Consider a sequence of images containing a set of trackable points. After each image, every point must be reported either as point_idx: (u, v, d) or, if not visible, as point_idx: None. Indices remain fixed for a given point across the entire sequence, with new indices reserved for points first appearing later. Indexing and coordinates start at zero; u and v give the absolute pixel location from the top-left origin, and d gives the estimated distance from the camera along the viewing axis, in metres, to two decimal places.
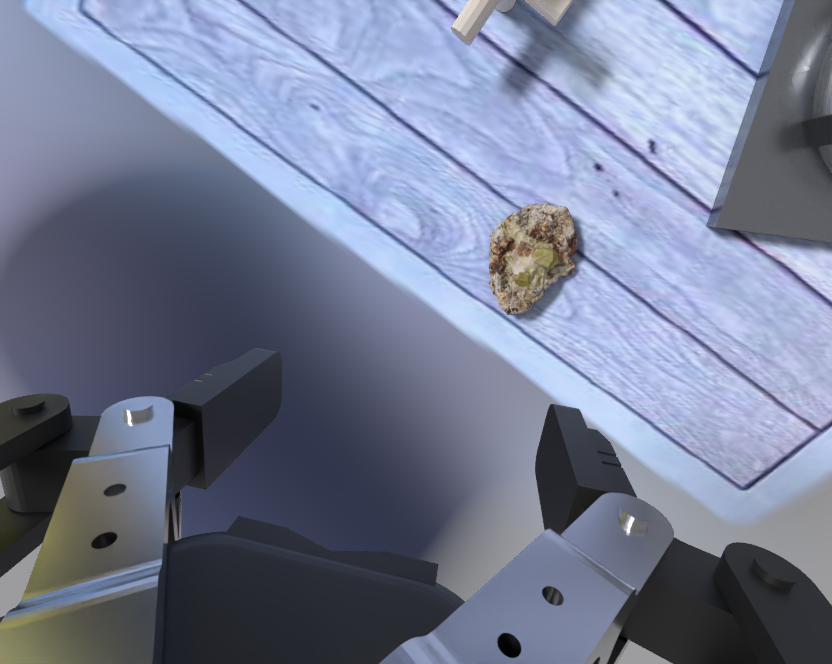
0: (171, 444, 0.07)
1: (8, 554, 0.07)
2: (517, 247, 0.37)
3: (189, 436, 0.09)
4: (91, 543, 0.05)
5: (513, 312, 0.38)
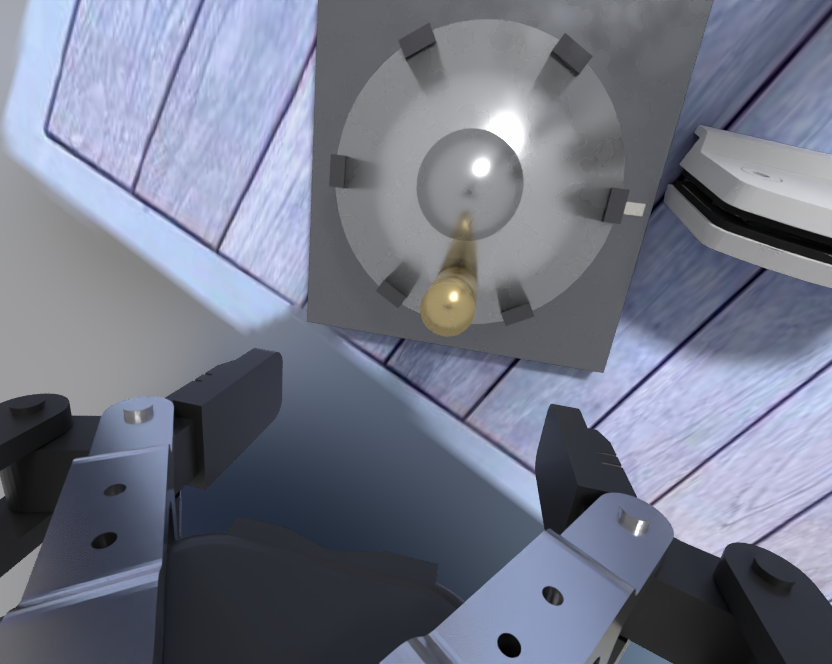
0: (171, 444, 0.07)
1: (8, 554, 0.07)
2: None
3: (189, 436, 0.09)
4: (91, 543, 0.05)
5: None
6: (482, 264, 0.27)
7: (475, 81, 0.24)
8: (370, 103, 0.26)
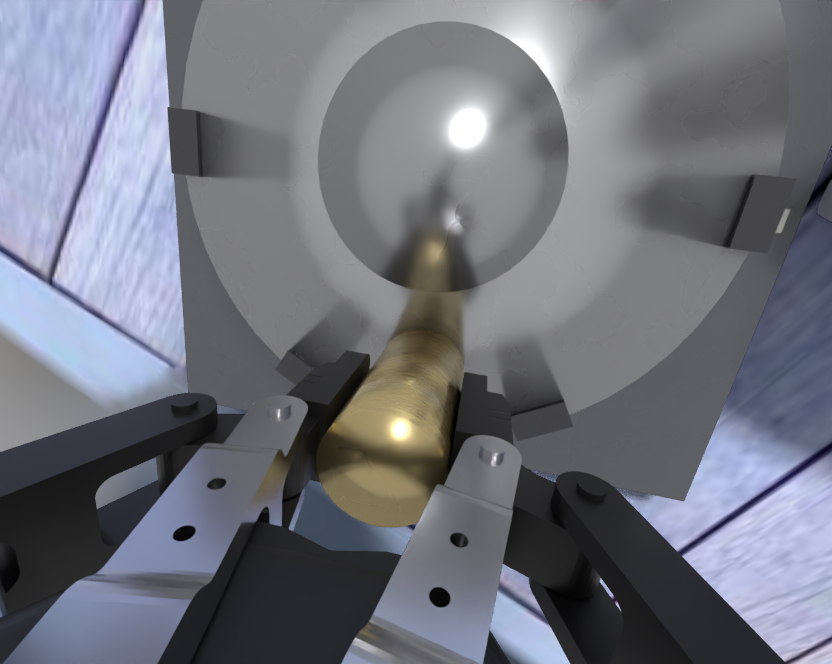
0: (289, 448, 0.08)
1: None
2: None
3: (316, 433, 0.10)
4: (173, 532, 0.05)
5: None
6: (471, 326, 0.14)
7: None
8: None
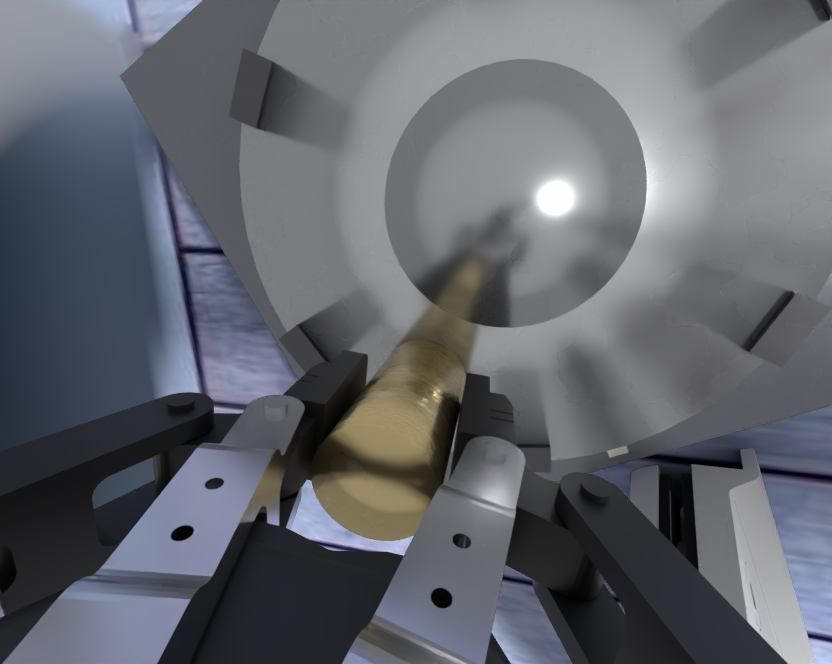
0: (286, 448, 0.08)
1: None
2: None
3: (313, 432, 0.10)
4: (171, 532, 0.05)
5: None
6: (484, 353, 0.14)
7: None
8: None
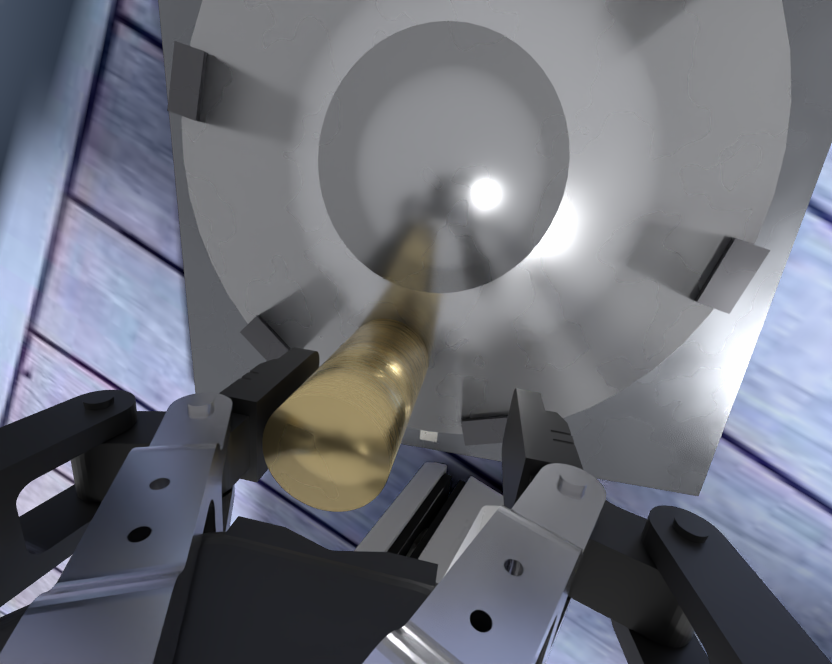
0: (223, 442, 0.08)
1: (68, 542, 0.08)
2: None
3: (244, 431, 0.09)
4: (127, 535, 0.05)
5: None
6: (443, 327, 0.14)
7: None
8: None
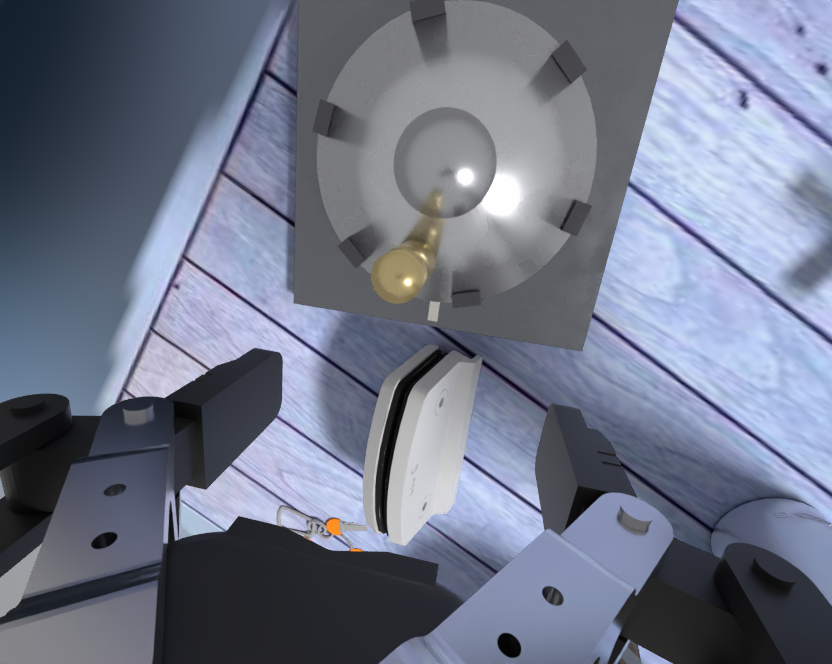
0: (171, 444, 0.07)
1: (8, 554, 0.07)
2: None
3: (189, 436, 0.09)
4: (91, 543, 0.05)
5: None
6: (443, 244, 0.28)
7: (474, 63, 0.25)
8: (369, 58, 0.25)
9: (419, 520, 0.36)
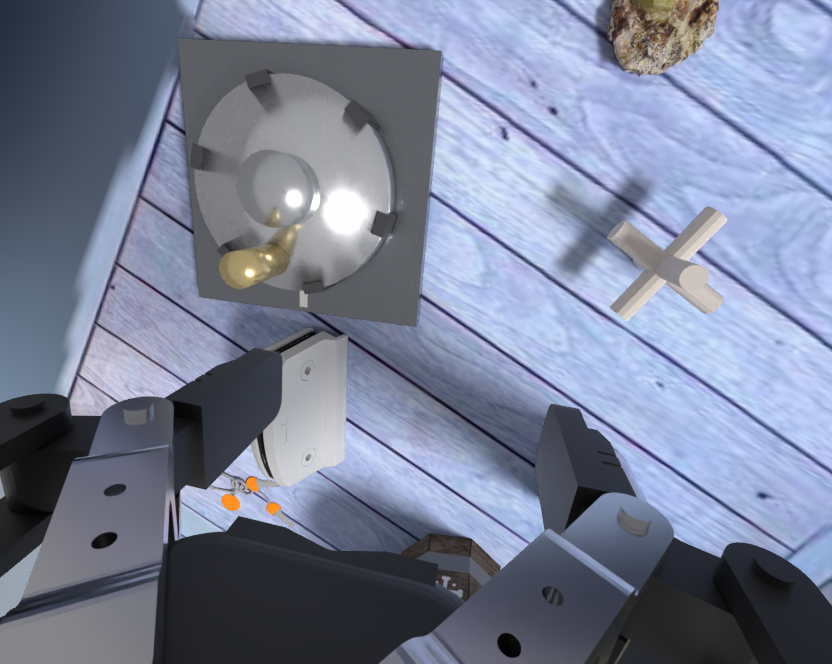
0: (171, 444, 0.07)
1: (8, 554, 0.07)
2: (688, 13, 0.30)
3: (189, 436, 0.09)
4: (91, 543, 0.05)
5: None
6: (292, 246, 0.38)
7: (294, 116, 0.34)
8: (223, 113, 0.35)
9: (304, 468, 0.45)
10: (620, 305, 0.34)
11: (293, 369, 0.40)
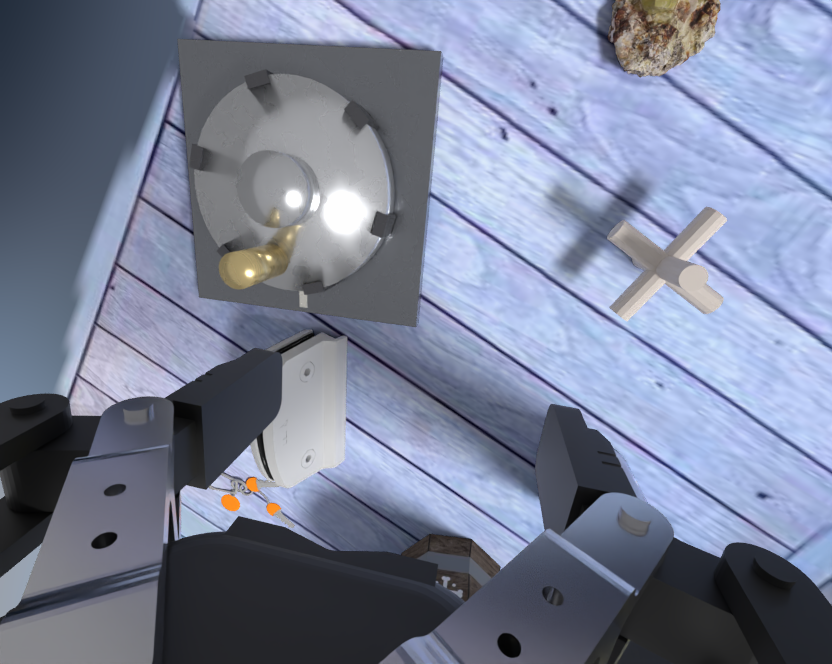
0: (171, 444, 0.07)
1: (8, 554, 0.07)
2: (689, 15, 0.30)
3: (189, 436, 0.09)
4: (91, 543, 0.05)
5: None
6: (291, 247, 0.38)
7: (294, 117, 0.34)
8: (223, 114, 0.35)
9: (304, 470, 0.45)
10: (620, 305, 0.34)
11: (292, 371, 0.40)
